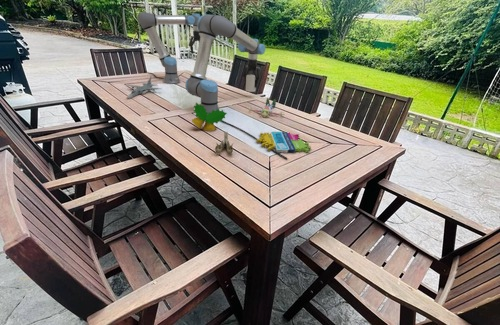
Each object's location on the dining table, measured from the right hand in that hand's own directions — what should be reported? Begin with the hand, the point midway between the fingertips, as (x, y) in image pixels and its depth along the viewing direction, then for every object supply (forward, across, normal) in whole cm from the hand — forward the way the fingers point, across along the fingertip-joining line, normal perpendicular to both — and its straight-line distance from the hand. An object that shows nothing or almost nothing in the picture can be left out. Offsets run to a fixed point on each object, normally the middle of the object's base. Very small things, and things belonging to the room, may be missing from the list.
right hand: (250, 86), depth 230 cm
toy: (+10, -31, +27) cm, 42 cm away
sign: (+10, -62, +74) cm, 97 cm away
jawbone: (+11, -41, +102) cm, 111 cm away
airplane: (+11, +78, +51) cm, 94 cm away
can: (+4, 0, 0) cm, 4 cm away
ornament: (+11, -16, +82) cm, 84 cm away
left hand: (-16, +82, -29) cm, 88 cm away
